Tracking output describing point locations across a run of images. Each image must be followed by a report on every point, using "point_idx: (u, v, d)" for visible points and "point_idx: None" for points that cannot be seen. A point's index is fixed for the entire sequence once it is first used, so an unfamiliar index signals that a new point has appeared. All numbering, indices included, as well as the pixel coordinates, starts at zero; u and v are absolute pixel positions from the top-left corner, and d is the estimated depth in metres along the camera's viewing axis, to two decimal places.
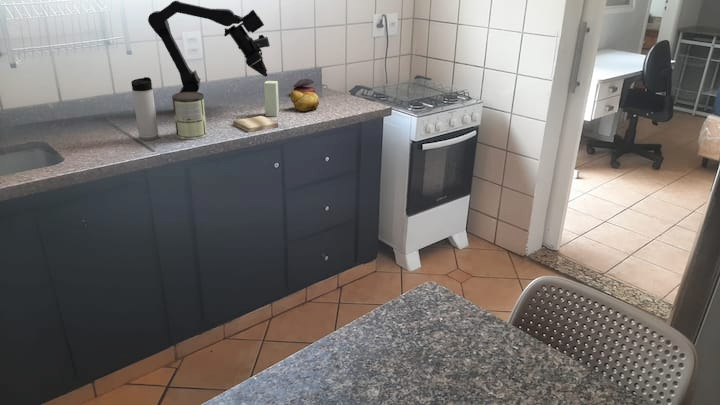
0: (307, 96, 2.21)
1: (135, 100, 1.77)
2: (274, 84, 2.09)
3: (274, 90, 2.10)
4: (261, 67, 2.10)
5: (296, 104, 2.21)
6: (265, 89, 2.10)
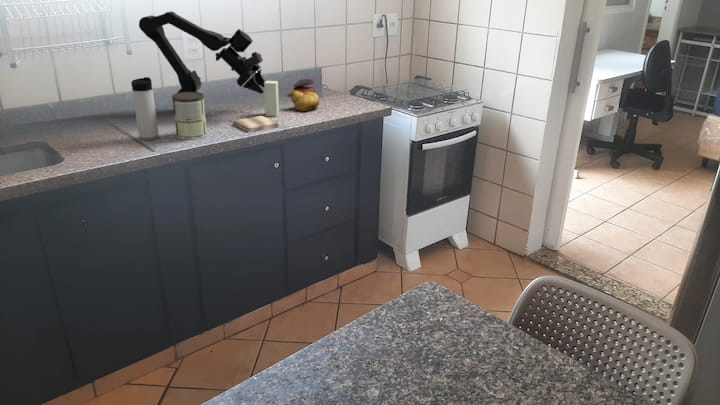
0: (307, 96, 2.21)
1: (135, 100, 1.77)
2: (274, 84, 2.09)
3: (274, 90, 2.10)
4: (255, 85, 2.06)
5: (296, 104, 2.22)
6: (265, 89, 2.10)
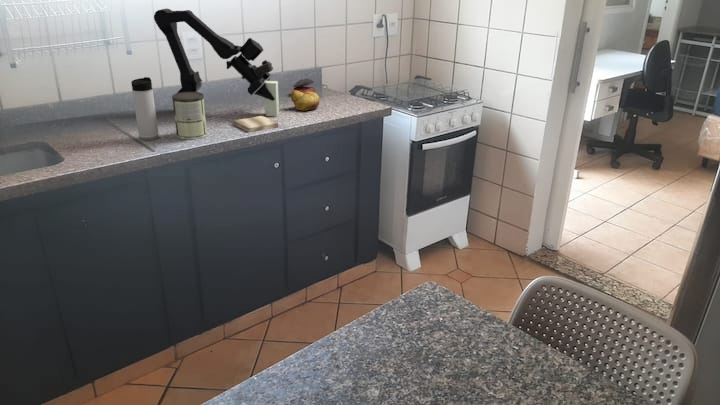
0: (307, 96, 2.22)
1: (135, 100, 1.77)
2: (274, 84, 2.09)
3: (274, 90, 2.10)
4: (266, 92, 2.09)
5: (296, 104, 2.22)
6: None
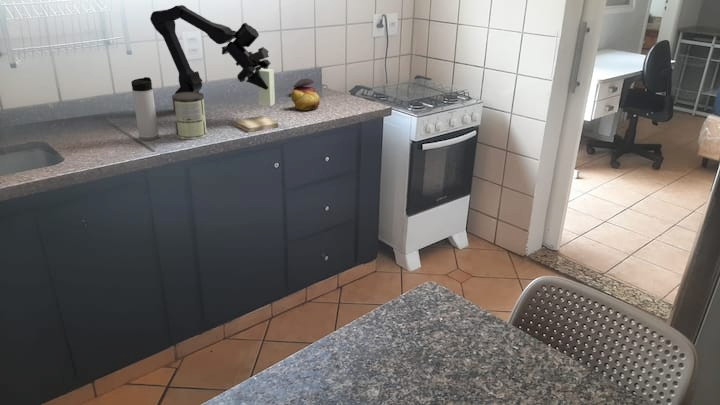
0: (307, 95, 2.22)
1: (135, 100, 1.77)
2: (267, 72, 2.00)
3: (267, 78, 2.01)
4: (259, 80, 2.01)
5: (296, 103, 2.23)
6: None
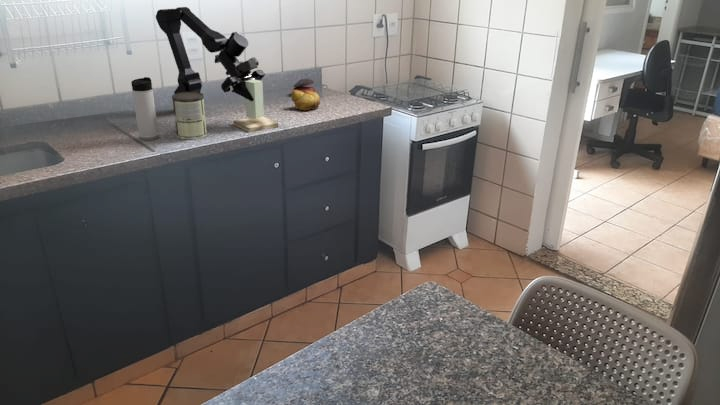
0: (307, 95, 2.22)
1: (135, 100, 1.77)
2: (253, 83, 1.93)
3: (253, 90, 1.94)
4: (244, 91, 1.94)
5: (296, 103, 2.23)
6: None
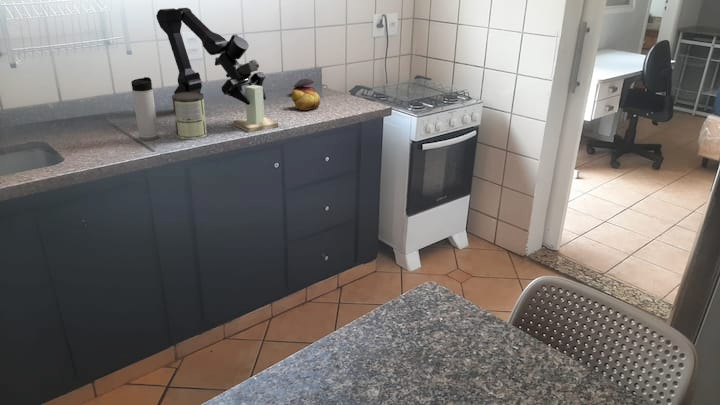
0: (307, 95, 2.22)
1: (135, 100, 1.77)
2: (253, 89, 1.94)
3: (253, 96, 1.95)
4: (241, 95, 1.93)
5: (296, 103, 2.23)
6: (246, 93, 1.96)
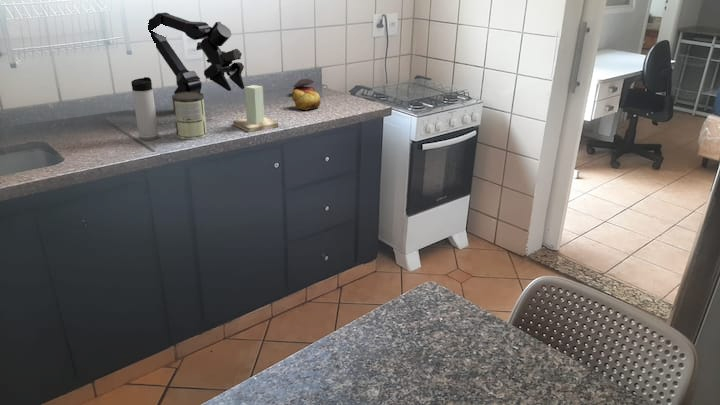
0: (307, 95, 2.23)
1: (135, 100, 1.77)
2: (253, 89, 1.94)
3: (253, 96, 1.95)
4: (223, 80, 1.96)
5: (296, 103, 2.24)
6: (246, 93, 1.96)
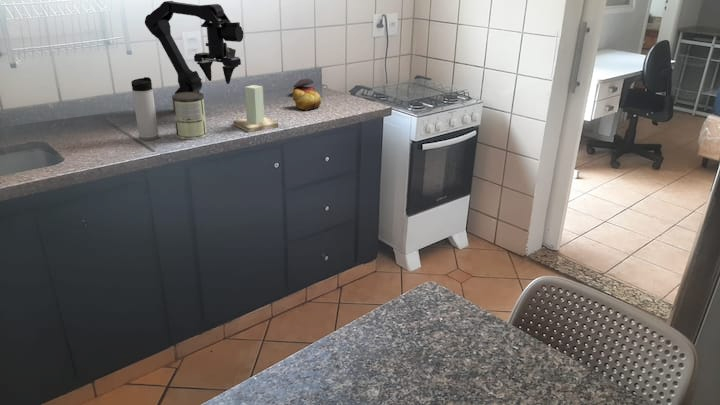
0: (308, 95, 2.23)
1: (135, 100, 1.77)
2: (253, 89, 1.94)
3: (253, 96, 1.95)
4: (230, 73, 2.04)
5: (297, 102, 2.24)
6: (246, 93, 1.96)
